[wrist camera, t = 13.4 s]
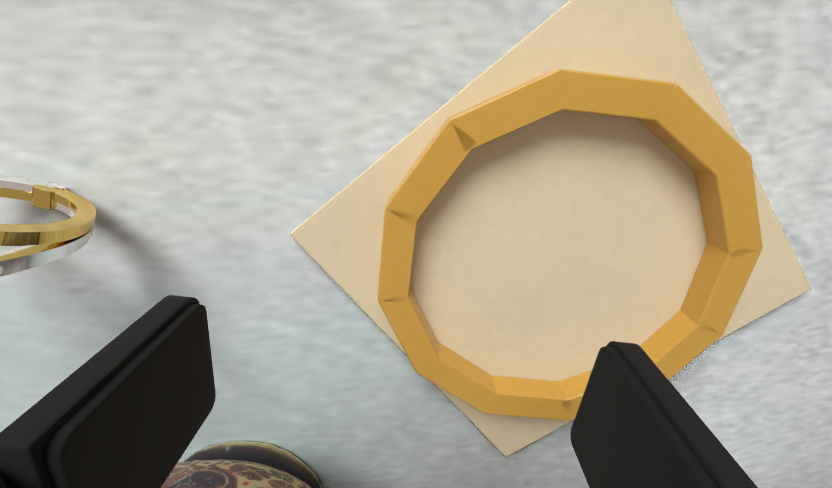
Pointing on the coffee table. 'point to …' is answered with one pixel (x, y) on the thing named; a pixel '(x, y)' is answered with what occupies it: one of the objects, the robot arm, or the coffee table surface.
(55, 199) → the ring
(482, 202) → the mat
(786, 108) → the coffee table surface
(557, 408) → the ring
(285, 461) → the ceramic bowl
